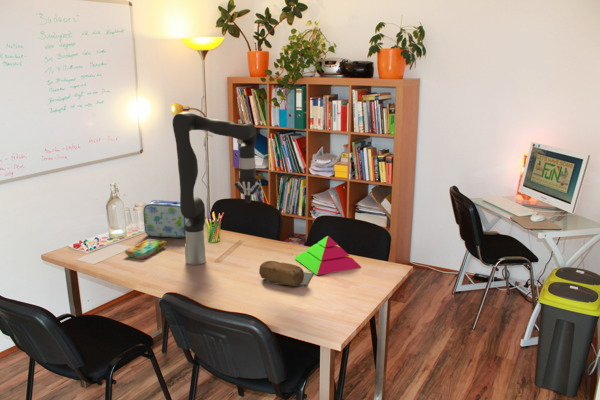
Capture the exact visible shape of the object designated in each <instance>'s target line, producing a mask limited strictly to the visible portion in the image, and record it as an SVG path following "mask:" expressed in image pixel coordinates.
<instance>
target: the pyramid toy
mask: <svg viewBox="0 0 600 400" xmlns="http://www.w3.org/2000/svg"><path fill="white" fill-rule="evenodd" d="M294 259H295V260H296V261H298V263H300V264H302V265H303V266H304V267H306V268H307V269H308V270H309V271H310V272H313V274H314V275H316V276H320V275H326V274H331V273H337V272H343V271H349V270H354V269H359V268H362V266H361V265H360V264H359V263H358V262H357V261H356V260H355V259H354V258H353V257H351V256H350V254H349V253H347V251H345V250H344V249H343V248H342V247H341V246H339V244H338V243H337V242H336V241H335V240H334V239H332V237H330V235H327V236H325V237H323V238H322V239H321V240H319V241H318V242H317V243H314V244H313V245H311V246H310V247H308V248H307V249H306V250H304V251H302V252H301V253H300V254H298V255H296V256H295V257H294Z"/></svg>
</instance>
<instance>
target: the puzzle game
mask: <svg viewBox="0 0 600 400" xmlns="http://www.w3.org/2000/svg"><path fill="white" fill-rule="evenodd" d="M165 245H167V241H166V240H160V239H159V240H158V239H154V238H153V239H152V238H148V239H144V241H141V242H138V244H135V245H133V246H131V247H128V248H126V249H125V250H124V254H126V256H127V257H128V258H129V257H130V258H134V257H135V258H136V259H140V258H142V259H141V260H144V259H147V258H148V257H150V256H151V254H152V255H153V254H156V253H157V252H159V251H161V250H162V249H163V247H164V246H165ZM160 249H161V250H160Z"/></svg>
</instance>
